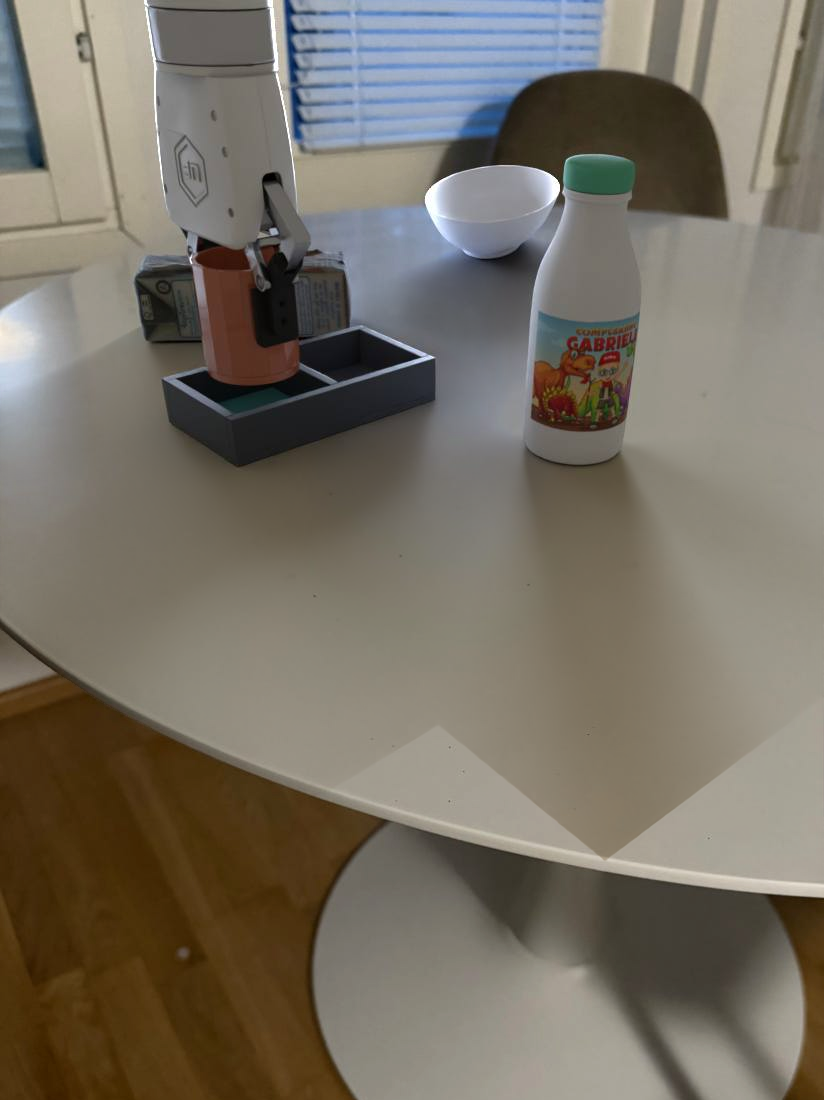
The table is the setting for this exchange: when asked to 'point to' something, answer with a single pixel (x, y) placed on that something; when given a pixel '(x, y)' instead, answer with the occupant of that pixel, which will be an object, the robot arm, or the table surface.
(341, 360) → the tray
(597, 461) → the milk bottle
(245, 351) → the cup
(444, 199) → the bowl
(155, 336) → the beverage carton
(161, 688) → the table surface
